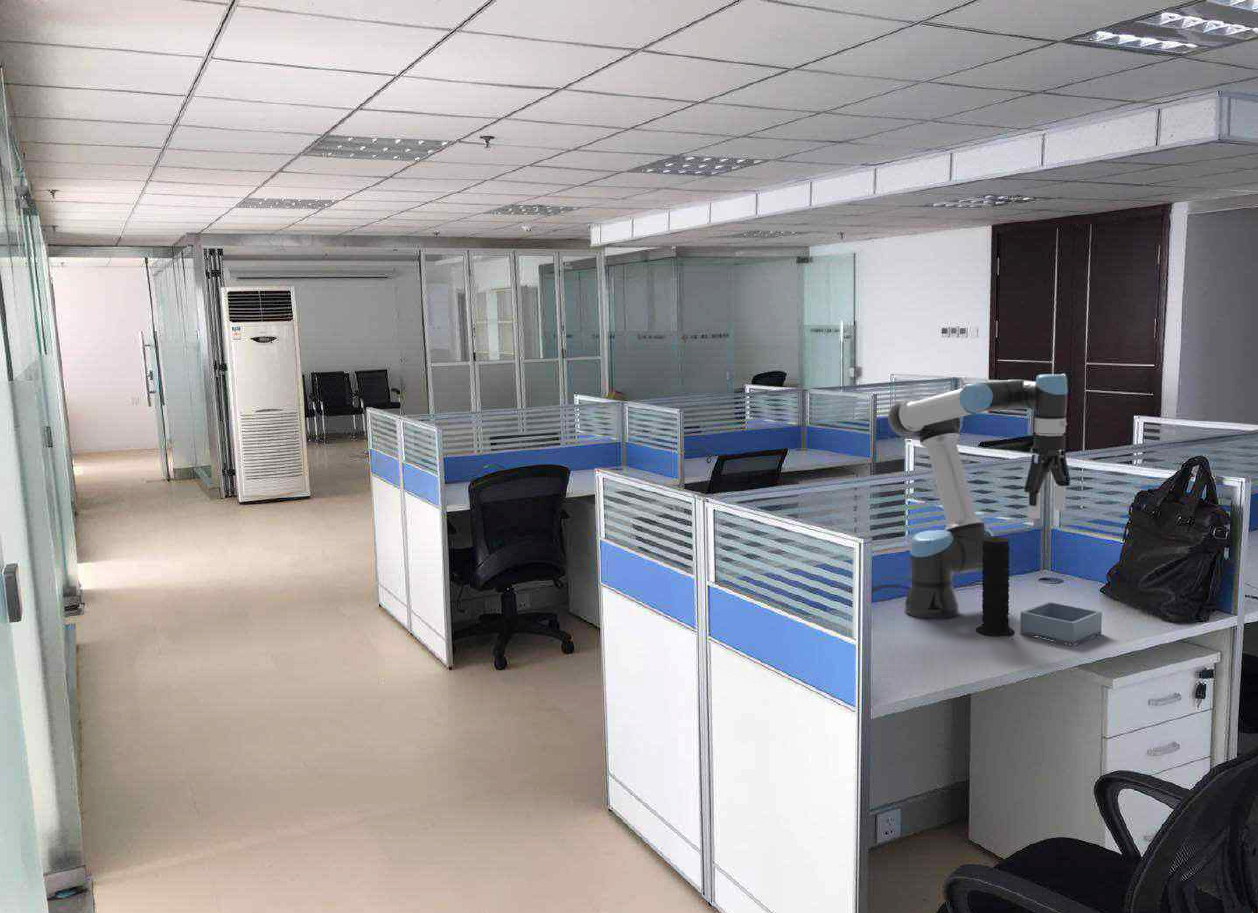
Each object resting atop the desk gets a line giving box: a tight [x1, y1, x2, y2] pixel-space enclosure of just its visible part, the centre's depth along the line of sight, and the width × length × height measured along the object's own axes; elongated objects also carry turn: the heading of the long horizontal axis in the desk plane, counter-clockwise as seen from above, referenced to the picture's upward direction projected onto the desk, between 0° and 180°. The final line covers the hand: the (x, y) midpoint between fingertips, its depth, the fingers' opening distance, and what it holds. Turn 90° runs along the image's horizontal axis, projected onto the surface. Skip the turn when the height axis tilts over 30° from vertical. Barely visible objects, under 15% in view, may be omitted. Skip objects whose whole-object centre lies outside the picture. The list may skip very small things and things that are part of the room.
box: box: [1019, 601, 1103, 646], centre depth 258 cm, size 15×15×6 cm
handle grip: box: [975, 535, 1016, 638], centre depth 261 cm, size 10×26×10 cm
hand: (1046, 513), depth 255 cm, fingers open, 13 cm apart
